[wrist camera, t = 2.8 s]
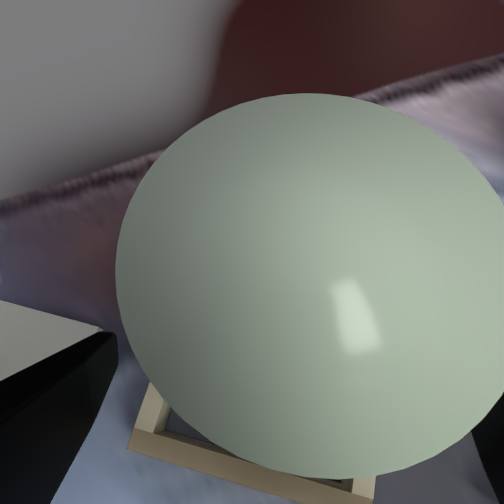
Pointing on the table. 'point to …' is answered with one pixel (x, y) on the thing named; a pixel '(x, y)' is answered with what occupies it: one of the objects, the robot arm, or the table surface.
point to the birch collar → (235, 462)
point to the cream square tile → (34, 336)
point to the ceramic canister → (317, 285)
